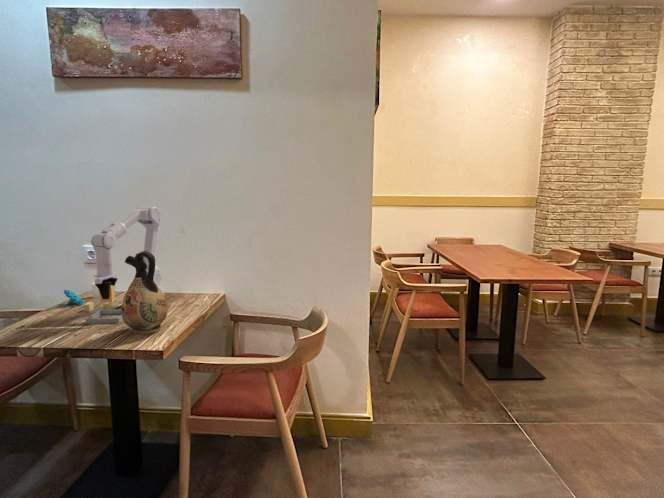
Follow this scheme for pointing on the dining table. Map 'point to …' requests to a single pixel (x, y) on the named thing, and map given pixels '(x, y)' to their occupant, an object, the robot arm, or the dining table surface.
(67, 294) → the gear
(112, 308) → the panel
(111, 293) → the block
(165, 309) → the ceramic jug
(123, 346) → the dining table surface
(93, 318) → the parts tray
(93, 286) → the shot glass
